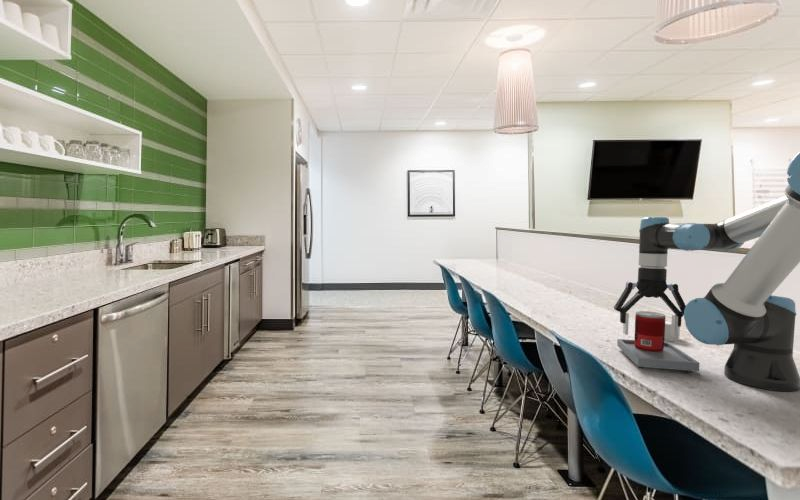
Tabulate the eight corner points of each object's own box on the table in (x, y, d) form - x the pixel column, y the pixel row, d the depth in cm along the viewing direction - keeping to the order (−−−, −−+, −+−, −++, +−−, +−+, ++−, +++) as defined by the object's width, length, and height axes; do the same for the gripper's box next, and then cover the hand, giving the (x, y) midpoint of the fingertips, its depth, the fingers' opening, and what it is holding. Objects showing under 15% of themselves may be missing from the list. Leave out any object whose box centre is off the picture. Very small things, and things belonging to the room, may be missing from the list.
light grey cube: (657, 339, 150) (658, 322, 150) (660, 336, 155) (660, 320, 154) (677, 342, 146) (678, 325, 146) (679, 338, 151) (680, 322, 151)
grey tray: (617, 349, 136) (617, 338, 136) (668, 353, 133) (668, 342, 132) (637, 370, 116) (638, 358, 116) (698, 375, 112) (699, 362, 112)
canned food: (669, 352, 125) (671, 316, 124) (642, 352, 125) (644, 316, 124) (654, 345, 132) (656, 311, 132) (629, 344, 133) (630, 310, 132)
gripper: (692, 267, 128) (689, 334, 129) (605, 264, 134) (602, 329, 135) (704, 269, 121) (700, 341, 122) (611, 266, 127) (608, 335, 128)
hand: (649, 335), depth 129 cm, fingers open, 13 cm apart
